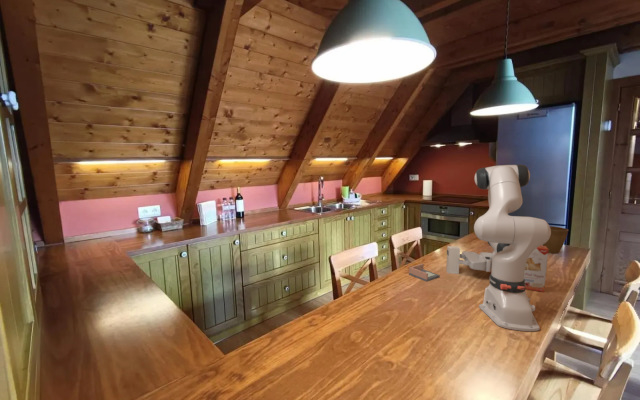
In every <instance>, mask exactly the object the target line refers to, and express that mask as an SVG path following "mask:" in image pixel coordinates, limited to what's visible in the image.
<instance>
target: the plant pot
mask: <svg viewBox="0 0 640 400" xmlns="http://www.w3.org/2000/svg"><path fill="white" fill-rule="evenodd" d="M549 226H550V229H551V235H550V238H549V240H548V241H547V242H546V243H545V244H542V245H541V246H546V247H547V248H548V249H549V251H548V254H559V253H560V252H561V250H562V248H563V246H564V244H565V242H566V239H567V236H568V233H569V229H567V228H565V227H560V226H551V225H549Z"/></svg>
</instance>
